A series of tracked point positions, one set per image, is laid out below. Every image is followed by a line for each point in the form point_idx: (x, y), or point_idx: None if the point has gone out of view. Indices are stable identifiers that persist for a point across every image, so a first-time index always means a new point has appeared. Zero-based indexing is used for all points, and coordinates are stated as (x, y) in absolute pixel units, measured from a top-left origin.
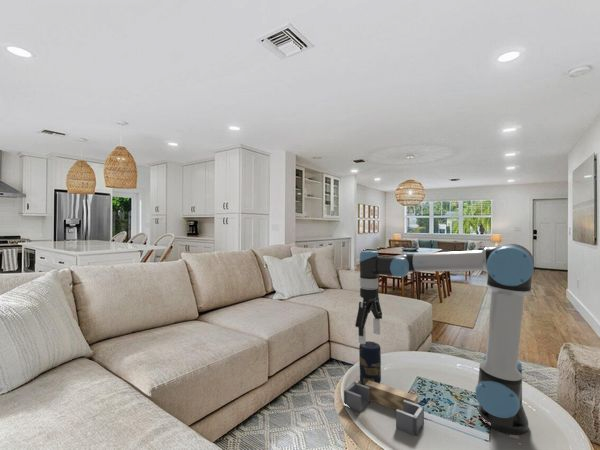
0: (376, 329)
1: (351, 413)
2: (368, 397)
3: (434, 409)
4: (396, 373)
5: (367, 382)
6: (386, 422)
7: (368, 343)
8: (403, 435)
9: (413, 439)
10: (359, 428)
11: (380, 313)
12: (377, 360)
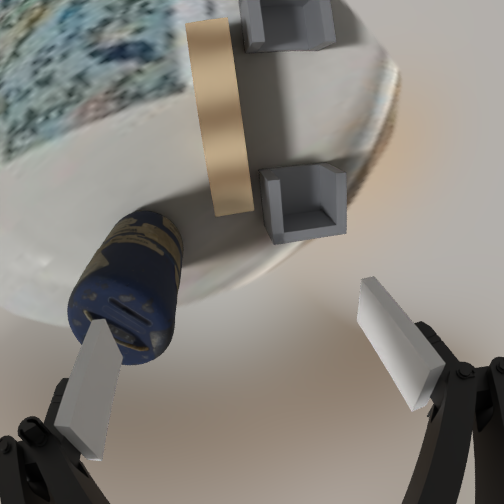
0: (105, 363)
1: None
2: (272, 172)
3: (142, 10)
4: (38, 217)
5: (235, 211)
6: (314, 80)
7: None
8: None
9: None
10: (382, 128)
11: (20, 468)
12: (131, 248)
